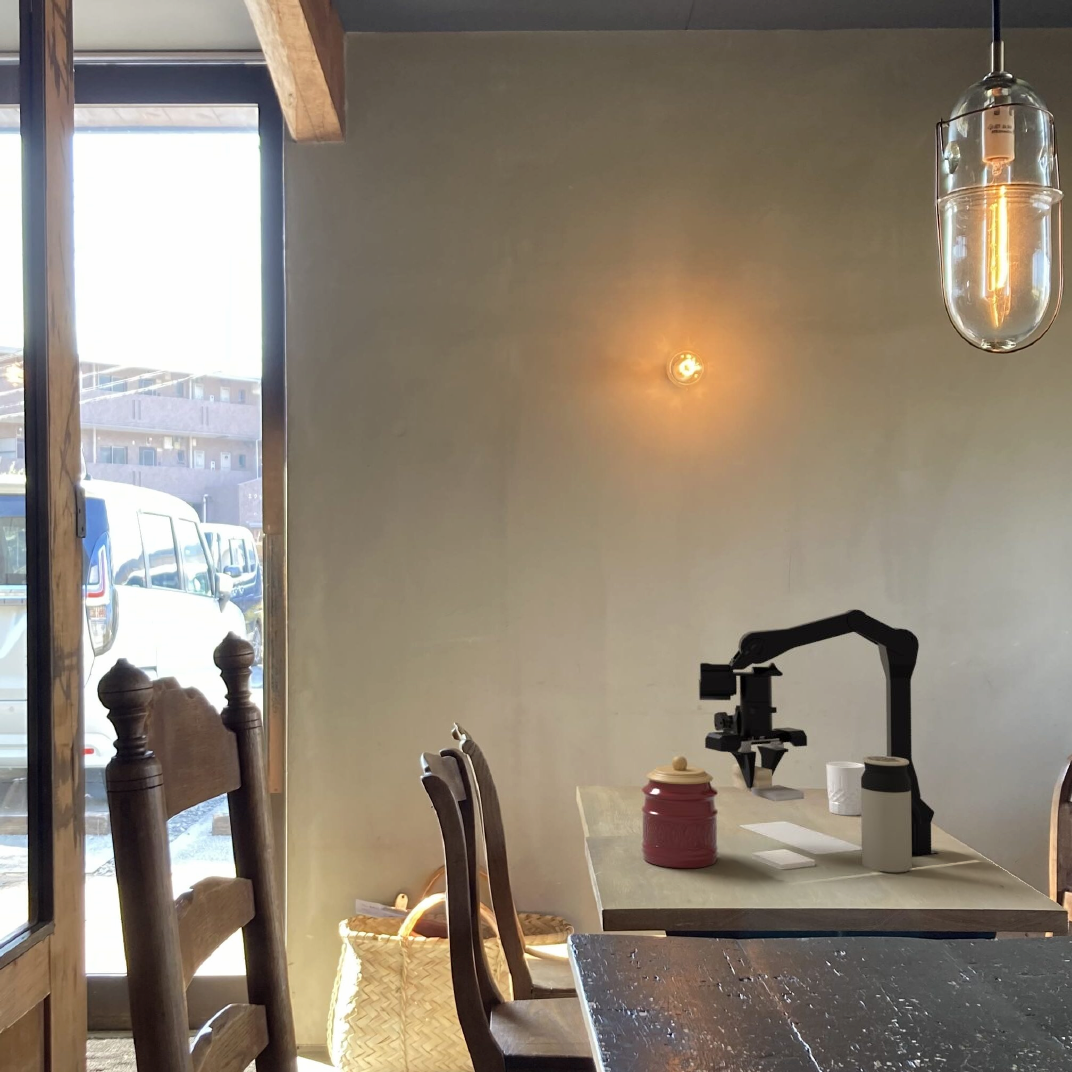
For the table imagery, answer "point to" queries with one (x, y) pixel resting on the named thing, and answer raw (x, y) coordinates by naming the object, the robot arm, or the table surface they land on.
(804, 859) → the tile
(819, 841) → the mat
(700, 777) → the canister
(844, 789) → the white cup
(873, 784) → the travel mug
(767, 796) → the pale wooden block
